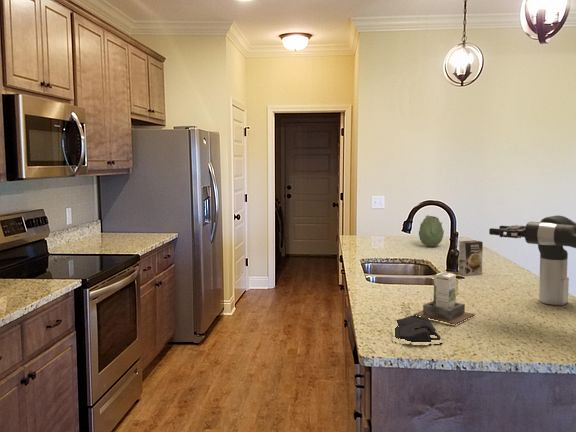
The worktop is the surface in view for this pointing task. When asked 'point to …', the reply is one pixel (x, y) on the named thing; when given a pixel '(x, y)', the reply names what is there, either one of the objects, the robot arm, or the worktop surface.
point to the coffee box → (470, 257)
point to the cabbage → (431, 231)
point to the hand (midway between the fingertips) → (494, 229)
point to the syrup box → (444, 290)
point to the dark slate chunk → (415, 329)
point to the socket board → (445, 313)
